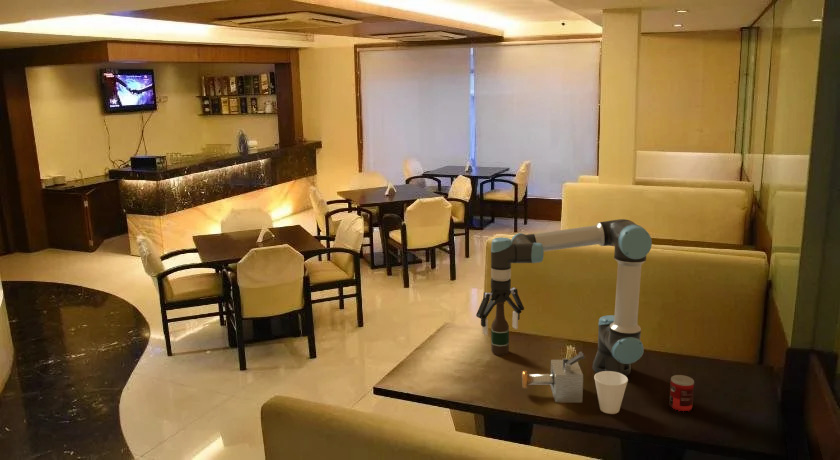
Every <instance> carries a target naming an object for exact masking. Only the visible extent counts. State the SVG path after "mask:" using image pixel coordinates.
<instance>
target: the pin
mask: <svg viewBox="0 0 840 460" xmlns="http://www.w3.org/2000/svg"><path fill="white" fill-rule="evenodd" d="M521 384H522V386H521V387H522V389H528V386H529V385H530V386H531V385H532V386H533V385H534V386H536V385H537V386H538V385H539V386H541V385H544V386H545V385H547V386H548V385H549V386H550V385H554V374H551V373H528V371H527V370H522V371H521Z"/></svg>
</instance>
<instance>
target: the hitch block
mask: <svg viewBox="0 0 840 460" xmlns="http://www.w3.org/2000/svg"><path fill="white" fill-rule="evenodd" d="M569 360H570V359H569V358H567V357H566V358H562V359H551V360H550V374H554V385H549V386H550V389H551V392H552V396H553V399H554V402H555V403H572V404H573V403H577V404H578V403H579V404H581V403H582V404H583V398H584V397H583V394H584V393H583V391H584V374H583V371H582V369H581V367H580V364H579V362H578V361H577V362H576V363H574V364H572V365H570V364H564V362H565V361H569Z"/></svg>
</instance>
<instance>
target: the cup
mask: <svg viewBox="0 0 840 460" xmlns="http://www.w3.org/2000/svg"><path fill="white" fill-rule="evenodd" d="M593 378H594V383H595V388H596V393H597V400H598V404H599V405H598V406H599V409H600V411H601V412H603V413H605V414H607V415H608V414H610V415H615V414H617V413H619V412H620V409H621V406H622V402H623V400H624V399H623V398H624V396H625V395H624V394H625V391H626V389H627V385H628V382H629V379H628V377H627V376H625V375H623V374H621V373H618V372H613V371H602V372H599V373H596V372H595V374H594V375H593Z"/></svg>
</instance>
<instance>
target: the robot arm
mask: <svg viewBox="0 0 840 460" xmlns="http://www.w3.org/2000/svg"><path fill="white" fill-rule="evenodd" d="M594 245H595V246H596V245H599V246H600V247H614V251H613V252H614V253H613V254H614V255H613V259H614V261H616V262H617V271H616V273H617V274H616V289H615V303H614V304H615V305H614V315H612V314H611V315H610V314H608V315H603V316H600V318H598V324H597V325H598V326H597V327H598V331H597V352H596V353H595V354H596V355H595V357H594V359H593V362H592V370H593V371H594V372H595V374H596V373H599V372H602V371H613V372H618V373H621V374H623V375H625V376H626V377H627V376H629V375H630V373H631V370H632V368H631V364H634V363H636V362H638V360H640V359H641V358H642V356H643V354H644V353H645V352H644V351H645V350H644V349H645V347H644V344H643V342H642V341H641V334H642V328H641V326H640V325H639V324H638V318H639V306H640V305H639V304H640V303H639V301H640V293H641V292H640V289H641V288H640V287H641V279H642V277H641V274H642V265H643V264H644V263H645V262H647V255H648V254H649V253H650V251H651V249H652V245H653V243H652V237H651V235H650V234H649V232H648V231H647V229H646V228H644V227H643V226H641V225H638V224H637V223H635V222H634V221H631V220H630V219H626V218H625V219H624V218H619V219H613V220H612V219H611V220H606V221H600V222H597V223H596V224H595V225H590V226H587V225H586V226H582V227H581V226H579V227H574V228H567V229H559V230H551V231H545V232H537V233H529V234H525V233H521V232H520V233H516V234H515V235H513V236H512V237H511V238H509V237H502V236H501V237H495V238H493V239H492V240H491V247H490V278H491V279H490V290H491V291H490V292H486V291H484V292H483V298H482V299H481V302H480V305H479V307H478V309H477V312H476V315H475V316H476V317H477V318H479V319H480V326H481V327H482V334H483V335H485V336H488V335H489V319H488V318H487V317H488V316H489V315H490V313H491V312H492V311H493V309H494V307H495V306H496V305H497V303H501V302H504V303H505V302H507V303H508V305H509V306H510V307H511V308H512V309H513V311H512V319H511V320H512V321H511V322H512V323H511V324H512V326H511V327H512V328H513V329H515V330H518V329H519V320H520V314H521V313H523V312H522V311H525V307H524V304H523V302H522V301H521V298H520V296H519V294H518V292H519V291H518V288H516V287H513V286H512V285H511V284H512V279H511V278H512V264H535V263H536V264H537V263H542V262H543V260H544V255H545V253H544V252H549V251H550V252H551V251H558V250H565V249H566V250H567V249H571V248H573V249H574V248H579V247H588V246H594ZM511 295H512V297H513V299H514V301H513V299H512V298H511V297H510V296H511Z"/></svg>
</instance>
